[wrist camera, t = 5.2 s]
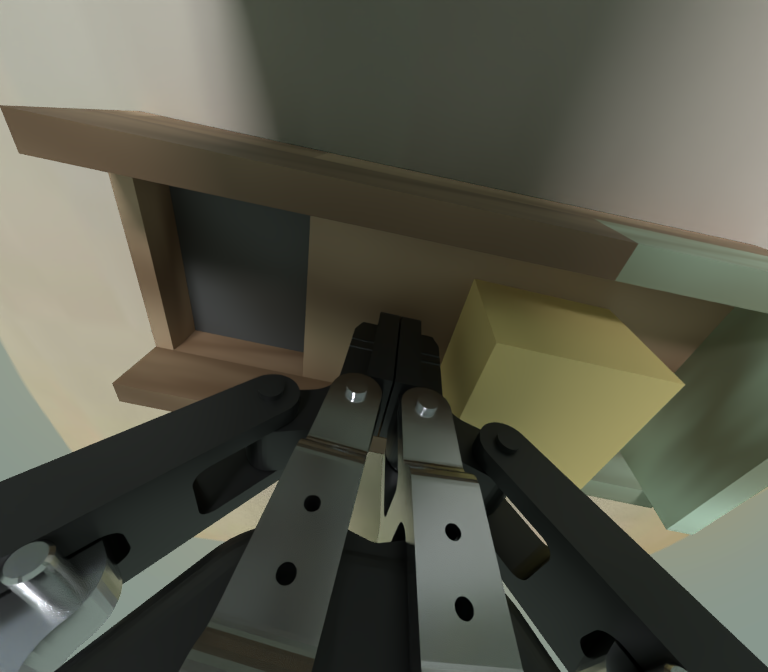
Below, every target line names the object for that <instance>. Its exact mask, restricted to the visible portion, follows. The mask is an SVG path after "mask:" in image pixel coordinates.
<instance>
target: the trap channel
mask: <svg viewBox="0 0 768 672" xmlns="http://www.w3.org/2000/svg"><path fill="white" fill-rule="evenodd" d="M0 108H1V110H2V112H3V115H4V117H5V120H6V122H7V125H8V127H9V130H10V132H11V135H12V137H13V140H14V142H15V144H16V147H17V149H18V152H19V153H20V154H25V155H29V156H34V157H39V158H43V159H48V160H53V161H57V162H62V163H67V164H71V165H76V166H81V167H86V168H90V169H95V170H100V171H104V172H108V174H109V177H110V181H111V184H112V188H113V192H114V195H115V199H116V203H117V206H118V210H119V213H120V217H121V221H122V224H123V228H124V232H125V235H126V239H127V242H128V246H129V250H130V253H131V257H132V261H133V264H134V268H135V271H136V275H137V279H138V282H139V286H140V290H141V293H142V297H143V300H144V304H145V308H146V311H147V315H148V319H149V322H150V326H151V329H152V333H153V337H154V340H155V344H156V347H155V348H154V349H153V350H152V351H150V352H149V353H148V354H147V355H146V356H144V357H143V358H142V359H141V360H140V361H138V362H137V363H136V364H135V365H134V366H132V367H131V368H130V369H129V370H128V371H126V372H125V373H124V374H123V375H122V376H121V377H119V378H118V379H117V380H116V381H115V382H113V383H112V384H113V386H114V389H115V391H116V394H117V396H118V398H119V401H122V402H127V403H132V404H137V405H142V406H146V407H151V408H156V409H161V410H166V411H171V412H173V411H175V410H178V409H180V408H182V407H185V406H187V405H190V404H192V403H195V402H197V401H200V400H202V399H204V398H207V397H209V396H212V395H214V394H217V393H219V392H222V391H224V390H227V389H229V388H231V387H234V386H236V385H239V384H241V383H244V382H246V381H249V380H251V379H254V378H256V377H259V376H262V375H267V374H279V375H284V376H287V377H289V378H291V379H292V380H294V381H295V382H296V383H297V385H298V386H299V389H300V390H310V389H320V388H324V387H327V386H329V385H331V384H332V383H333V381H334V380H335V379H336V378H337V377H339V376H340V373H341V370H342V367H343V364H344V361H345V358H346V355H347V352H348V349H349V346H350V342H351V339H352V336H353V333H354V330H355V328H356V327H357V326H359V325H360V324H361V323H362V322H367V323H371V324H376V325H378V321H379V317H380V312H385V313H389V314H394V315H398V316H400V318H401V316H403V317H407V318H412V319H416V320H421V335H426V336H430V337H433V339H434V340H435V342H436V343H437V345H438V346H439V356H440V357H439V358H440V366H441V363H442V361H443V358H444V355H445V353H446V350H447V348H448V345H449V343H450V340H451V337H452V335H453V332H454V330H455V327H456V325H457V322H458V319H459V317H460V314H461V312H462V309H463V307H464V304H465V301H466V299H467V296H468V294H469V291H470V289H471V286H472V283H473V281H474V279H478V280H482V281H487V282H491V283H495V284H500V285H504V286H509V287H513V288H517V289H522V290H526V291H530V292H535V293H539V294H543V295H548V296H552V297H557V298H561V299H565V300H570V301H574V302H578V303H583V304H587V305H591V306H596V307H600V308H605V309H609V310H610V311H611V312H612V313H613V314H614V315H615V316H616V317H617V318H618V319H619V320H620V321H621V322H622V323H623V324H624V325H625V326H627V327H628V328H629V329H630V330H631V331H632V332H633V333H634V334H635V335H636V336H637V337H638V338H639V339H640V340H641V341H642V342H643V343H644V344H645V345H646V346H647V347H648V348H649V349H650V350H651V351H652V352H653V353H654V354H655V355H656V356H657V357H658V358H659V359H660V360H661V361H662V362H663V363H664V364H665V365H666V366H667V367H668V368H669V369H670V370H671V371H672V372H673V373H674V374H675V375H676V376H677V377H678V378H679V379H680V380H681V381H682V382H683V383H684V384H685V386H684V387H683V388H682V389H681V390H680V391H679V392H678V393H677V394H676V395H675V396H674V397H673V398H672V399H671V400H670V401H669V402H668V403H667V404H666V405H665V406H664V407H663V408H662V409H661V410H660V411H659V412H658V413H657V414H656V415H655V416H654V417H653V418H652V419H651V420H650V421H649V422H648V423H647V424H646V425H645V426H644V427H643V428H642V429H641V430H640V431H639V432H638V433H637V434H636V435H635V436H634V437H633V438H632V439H631V440H630V441H629V442H628V443H627V444H626V445H625V446H624V447H623V448H622V449H621V450H620V451H619V452H618V453H617V454H616V455H615V456H614V457H613V458H612V459H611V460H610V461H609V462H608V463H607V464H606V465H605V466H604V467H603V468H602V469H601V470H600V471H599V472H598V473H597V474H596V475H595V476H594V477H593V478H592V479H591V480H590V481H589V482H588V483H587V484H586V485H585V486H584V487H583V488H582V489H581V491H582V492H583V493H584V494H586V495H589V496H594V497H599V498H604V499H609V500H614V501H619V502H624V503H629V504H633V505H638V506H643V507H648V508H652V507H653V508H654V510H655V511H656V513H657V514H658V516H659V518H660V519H661V521H662V523H663V524H664V526H665V528H666V529H667V530H671V531H676V532H681V533H686V534H691V535H693V534H695V533H697V532H698V531H700V530H701V529H703V528H704V527H706V526H707V525H709V524H711V523H712V522H714V521H715V520H717V519H718V518H720V517H721V516H723V515H724V514H726V513H728V512H729V511H731V510H732V509H734V508H735V507H737V506H738V505H740V504H741V503H743V502H745V501H746V500H748V499H749V498H751V497H752V496H754V495H755V494H757V493H759V492H760V491H762V490H763V489H765V488H766V487H768V250H766V249H763V248H761V247H758V246H755V245H751V244H746V243H742V242H737V241H732V240H728V239H723V238H719V237H714V236H709V235H705V234H700V233H696V232H691V231H687V230H682V229H677V228H673V227H668V226H664V225H659V224H654V223H650V222H645V221H641V220H636V219H631V218H627V217H622V216H618V215H613V214H608V213H604V212H599V211H595V210H590V209H586V208H581V207H576V206H572V205H567V204H563V203H558V202H553V201H549V200H544V199H540V198H535V197H530V196H526V195H521V194H517V193H512V192H507V191H503V190H498V189H494V188H489V187H485V186H480V185H475V184H471V183H466V182H462V181H457V180H452V179H448V178H443V177H439V176H434V175H429V174H425V173H420V172H416V171H411V170H407V169H402V168H397V167H393V166H388V165H384V164H379V163H374V162H370V161H365V160H361V159H356V158H351V157H347V156H342V155H338V154H333V153H328V152H324V151H319V150H315V149H310V148H306V147H301V146H296V145H292V144H287V143H283V142H278V141H273V140H269V139H264V138H260V137H255V136H250V135H246V134H241V133H237V132H232V131H227V130H223V129H218V128H214V127H209V126H205V125H200V124H195V123H191V122H186V121H182V120H177V119H172V118H168V117H163V116H159V115H154V114H149V113H145V112H140V111H120V110H97V109H73V108H50V107H26V106H3V105H0ZM380 426H381V425H380ZM379 434H380V428H379V432H378V435H377V436H374V435H373V439H372V442H371V446H370V450H369V451H370V452H375V453H380V454H384V452H385V449H386V442H387V438H384V437H379Z"/></svg>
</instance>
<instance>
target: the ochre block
mask: <svg viewBox="0 0 768 672" xmlns="http://www.w3.org/2000/svg"><path fill="white" fill-rule="evenodd" d="M440 368H441V381H442V393H443V397H444V398H445V399H446V400H447V401H448V403H449V405H450V407H451V411H452V413H453V414H454V415H455V416H456V417H458V418H459V419H461V420H462V421H464V422H466V423H468V424H470V425H472V426H475V427H477V428H479V429H481V428H482V427H483V426H484V425H485V424H487V423H491V422H498V423H503V424H506V425H509V426H511V427H513V428H514V429H516V430H517V431H519V432H520V433H521V434H522V435H523V436H524V437H525V438H527V439H528V440H529V441H530V442H531V443H532V444H533V445H534V446H535V447H536V448H537V449H538V450H539V451H540V452H541V453H542V454H543V455H544V456H546V457H547V458H548V459H549V460H550V461H551V462H552V463H553V464H554V465H555V466H556V467H557V468H558V469H559V470H560V471H561V472H562V473H563V474H564V475H566V476H567V477H568V478H569V479H570V480H571V481H572V482H573V483H574V484H575V485H576V486H577V487H578V488H579V489H580V490H581V489H582V488H583V487H584V486H585V485H586V484H587V483H588V482H589V481H590V480H591V479H592V478H593V477H594V476H595V475H596V474H597V473H598V472H599V471H600V470H601V469H602V468H603V467H604V466H605V465H606V464H607V463H608V462H609V461H610V460H611V459H612V458H613V457H614V456H615V455H616V454H617V453H618V452H619V451H620V450H621V449H622V448H623V447H624V446H625V445H626V444H627V443H628V442H629V441H630V440H631V439H632V438H633V437H634V436H635V435H636V434H637V433H638V432H639V431H640V430H641V429H642V428H643V427H644V426H645V425H646V424H647V423H648V422H649V421H650V420H651V419H652V418H653V417H654V416H655V415H656V414H657V413H658V412H659V411H660V410H661V409H662V408H663V407H664V406H665V405H666V404H667V403H668V402H669V401H670V400H671V399H672V398H673V397H674V396H675V395H676V394H677V393H678V392H679V391H680V390H681V389H682V388H683V387H684V386H685V384H684V383H683V382H682V381H681V380H680V379H679V378H678V377H677V376H676V375H675V374H674V373H673V372H672V371H671V370H670V369H669V368H668V367H667V366H666V365H665V364H664V363H663V362H662V361H661V360H660V359H659V358H658V357H657V356H656V355H655V354H654V353H653V352H652V351H651V350H650V349H649V348H648V347H647V346H646V345H645V344H644V343H643V342H642V341H641V340H640V339H639V338H638V337H637V336H636V335H635V334H634V333H633V332H632V331H631V330H630V329H629V328H628V327H627V326H625V325H624V324H623V323H622V322H621V321H620V320H619V319H618V318H617V317H616V316H615V315H614V314H613V313H612V312H611V311H610V310H609V309H605V308H600V307H596V306H591V305H587V304H583V303H578V302H574V301H570V300H565V299H561V298H557V297H552V296H548V295H543V294H539V293H535V292H530V291H526V290H522V289H517V288H513V287H509V286H504V285H500V284H495V283H491V282H487V281H482V280H478V279H474V281H473V283H472V286H471V289H470V291H469V294H468V296H467V299H466V301H465V304H464V307H463V309H462V312H461V314H460V317H459V319H458V322H457V325H456V327H455V330H454V332H453V335H452V337H451V340H450V343H449V345H448V348H447V350H446V353H445V355H444V358H443V361H442V363H441V366H440Z"/></svg>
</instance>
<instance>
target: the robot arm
mask: <svg viewBox="0 0 768 672" xmlns="http://www.w3.org/2000/svg"><path fill="white" fill-rule="evenodd" d="M439 357H440V356H439V346H438V345H437V343H436V342H435V340H434V339H433V337H430V336H426V335H421V320H416V319H412V318H407V317H403V316H401V318H400V316H398V315H394V314H389V313H385V312H380V317H379V321H378V325H376V324H371V323H367V322H362V323H361V324H360V325H359V326H357V327H356V328H355V330H354V333H353V336H352V339H351V342H350V346H349V349H348V352H347V355H346V358H345V361H344V364H343V367H342V370H341V373H340V376H339V377H337V378H336V379H335V380H334V381H333V383H332V384H331V385H329V386H327V387H324V388H320V389H310V390H300V389H299V386H298V385H297V383H296V382H295V381H294V380H292V379H291V378H289V377H287V376H284V375H279V374H267V375H262V376H259V377H256V378H254V379H251V380H249V381H246V382H244V383H241V384H239V385H236V386H234V387H231V388H229V389H227V390H224V391H222V392H219V393H217V394H214V395H212V396H209V397H207V398H204V399H202V400H200V401H197V402H195V403H192V404H190V405H187V406H185V407H182V408H180V409H178V410H175V411H173V412H170V413H168V414H165V415H163V416H160V417H158V418H155V419H153V420H151V421H148V422H146V423H143V424H141V425H138V426H136V427H133V428H131V429H128V430H126V431H124V432H121V433H119V434H116V435H114V436H111V437H109V438H106V439H104V440H101V441H99V442H97V443H94V444H92V445H89V446H87V447H84V448H82V449H79V450H77V451H75V452H72V453H70V454H67V455H65V456H62V457H60V458H57V459H55V460H52V461H50V462H48V463H45V464H43V465H40V466H38V467H36V468H33V469H30V470H28V471H26V472H23V473H21V474H18V475H16V476H13V477H11V478H9V479H6V480H3V481H1V482H0V672H560V670H559V669H558V667H557V666H556V664H555V663H554V661H553V660H552V658H551V657H550V656H549V654H548V652H547V651H546V650H545V648H544V647H543V645H542V644H541V642H540V641H539V639H538V638H537V636H536V635H535V633H534V632H533V630H532V629H531V627H530V626H529V624H528V623H527V622H526V620H525V619H524V617H523V616H522V614H521V613H520V611H519V610H518V609H517V607H516V606H515V605H514V603H513V602H512V601H511V600H510V598H509V597H508V596H507V595H506V594H505V592H504V588H503V583H502V581H503V582H504V583H505V585H506V586H507V587H508V589H509V590H510V592H511V593H512V594H513V596H514V597H515V599H516V600H517V601H518V603H519V604H520V605H521V607H522V608H523V610H524V611H525V612H526V613H527V615H528V616H529V618H530V619H531V621H532V622H533V623H534V625H535V626H536V627H537V629H538V630H539V632H540V633H541V634H542V636H543V637H544V639H545V640H546V641H547V643H548V644H549V645H550V647H551V648H552V650H553V651H554V652H555V654H556V655H557V656H558V658H559V659H560V660H561V662H562V663H563V664H564V666H565V668H566V669H567V670H568V672H768V667H767V666H766V665H765V664H763V663H762V662H761V661H760V660H759V659H758V658H757V657H756V656H755V655H754V654H753V653H752V652H751V651H750V650H749V649H748V648H747V647H745V645H743V644H742V643H741V642H740V641H739V640H738V639H737V638H736V637H735V636H734V635H733V634H732V633H731V632H730V631H729V630H728V629H727V628H726V627H724V626H723V625H722V624H721V623H720V622H719V621H718V620H717V619H716V618H715V617H714V616H713V615H712V614H711V613H710V612H709V611H708V610H707V609H706V608H704V607H703V606H702V605H701V604H700V603H699V602H698V601H697V600H696V599H695V598H694V597H693V596H692V595H691V594H690V593H689V592H688V591H687V590H685V588H683V587H682V586H681V585H680V584H679V583H678V582H677V581H676V580H675V579H674V578H673V577H672V576H671V575H670V574H668V572H667V571H666V570H664V569H663V568H662V567H661V566H660V565H659V564H658V563H657V562H656V561H655V560H654V559H653V558H652V557H651V556H650V555H649V554H648V553H647V552H646V551H644V550H643V549H642V548H641V547H640V546H639V545H638V544H637V543H636V542H635V541H634V540H633V539H632V538H631V537H630V536H629V535H628V534H627V533H626V532H624V531H623V530H622V529H621V528H620V527H619V526H618V525H617V524H616V523H615V522H614V521H613V520H612V519H611V518H610V517H609V516H608V515H607V514H606V513H604V512H603V511H602V510H601V509H600V508H599V507H598V506H597V505H596V504H595V503H594V502H593V501H592V500H591V499H590V498H589V497H588V496H587V495H586V494H584V493H583V492H582V491H581V490H580V489H579V488H578V487H577V486H576V485H575V484H574V483H573V482H572V481H571V480H570V479H569V478H568V477H567V476H566V475H564V474H563V473H562V472H561V471H560V470H559V469H558V468H557V467H556V466H555V465H554V464H553V463H552V462H551V461H550V460H549V459H548V458H547V457H546V456H544V455H543V454H542V453H541V452H540V451H539V450H538V449H537V448H536V447H535V446H534V445H533V444H532V443H531V442H530V441H529V440H528V439H527V438H525V437H524V436H523V435H522V434H521V433H520V432H519V431H517V430H516V429H514V428H513V427H511V426H509V425H506V424H503V423H498V422H491V423H487V424H485V425H484V426H483V427H482V428H481V429H479V428H477V427H475V426H472V425H470V424H468V423H466V422H464V421H462V420H461V419H459V418H458V417H456V416H455V415H454V414H453V413H452V411H451V407H450V405H449V403H448V401H447V400H446V399H445V398H444V397H443V393H442V381H441V368H440V358H439ZM380 425H381V426H380ZM379 428H380V434H379V437H384V438H387V442H386V449H385V452H384V455H383V458H382V476H381V508H380V527H379V533H378V539H377V543H374V542H371V541H369V540H367V539H365V538H363V537H361V536H359V535H357V534H355V533H353V532H351V531H349V530H348V527H349V523H350V519H351V515H352V511H353V507H354V503H355V500H356V496H357V492H358V488H359V484H360V480H361V476H362V472H363V468H364V464H365V460H366V456H367V453H368V452H369V450H370V446H371V442H372V439H373V435H374V436H377V435H378V432H379ZM278 480H279V481H278ZM276 481H278V483H277V485H276V488H275V490H274V492H273V494H272V496H271V498H270V500H269V502H268V504H267V506H266V508H265V510H264V512H263V514H262V516H261V518H260V520H259V522H258V524H257V526H256V528H255V529H252V530H250V531H247V532H244V533H242V534H240V535H237V536H235V537H233V538H231V539H229V540H228V541H226V542H224V543H223V544H221V545H219V546H218V547H217V548H215V549H214V550H212V551H211V552H210V553H208V554H207V555H206V556H205V557H203V558H202V559H200V561H198V562H197V563H195V564H194V565H193V566H191V567H190V568H189V569H187V570H186V571H185V572H183V573H182V574H181V575H180V576H178V577H177V578H176V579H174V580H173V581H172V582H171V583H169V584H168V585H166V586H165V587H164V588H163V589H161V590H160V591H159V592H157V593H156V594H155V595H154V596H152V597H151V598H150V599H148V600H147V601H145V602H144V603H143V604H142V605H141V606H139V607H138V608H136V609H135V610H134V611H132V612H131V613H130V614H128V615H127V616H126V617H125V618H123V619H122V620H121V621H119V622H118V623H117V624H116V625H114V626H113V627H111V628H110V629H109V630H108V631H106V632H105V633H104V634H102V635H101V636H100V637H99V638H97V639H96V640H94V641H93V642H92V643H91V644H89V645H88V646H87V647H85V648H84V649H83V650H81V651H80V652H79V653H77V654H76V655H75V656H74V657H72V658H71V659H70V660H68V661H67V662H66V663H64V662H65V661H66V659H67V658H68V657H69V656H70V655H71V654H72V653H73V652H74V651H75V650H76V649H77V648H78V647H79V646H80V645H81V644H83V643H84V642H85V641H86V640H87V639H88V638H90V637H91V636H92V635H93V634H94V633H95V632H96V631H97V630H98V629H99V628H100V627H101V626H102V625H103V623H104V622H105V621H106V620H107V619H108V617H109V616H110V614H111V613H112V611H113V610H114V608H115V606H116V604H117V602H118V600H119V597H120V594H121V589H122V584H123V583H125V582H127V581H128V580H130V579H131V578H133V577H134V576H135V575H137V574H139V573H140V572H141V571H143V570H144V569H146V568H147V567H149V566H150V565H152V564H154V563H155V562H157V561H158V560H159V559H161V558H162V557H164V556H166V555H167V554H168V553H170V552H172V551H173V550H174V549H176V548H177V547H179V546H180V545H182V544H183V543H185V542H186V541H188V540H189V539H191V538H192V537H194V536H195V535H197V534H198V533H200V532H201V531H203V530H204V529H206V528H207V527H209V526H210V525H212V524H213V523H215V522H216V521H218V520H219V519H221V518H222V517H224V516H225V515H227V514H228V513H230V512H231V511H233V510H234V509H236V508H237V507H239V506H240V505H242V504H243V503H245V502H246V501H248V500H249V499H251V498H252V497H254V496H255V495H257V494H258V493H260V492H261V491H263V490H264V489H266V488H267V487H269V486H270V485H272V484H273V483H275V482H276ZM506 496H507V497H508V498H509V500H510V501H511V502H512V503H513V504H514V505H515V506H516V508H517V509H518V510H519V511H520V512H521V513H522V514H523V516H524V517H525V518H526V519H527V520H528V521H529V522H530V524H531V525H532V526H533V527H534V528H535V529H536V530H537V532H538V533H539V534H540V535H541V536H542V537H543V539H544V540H545V542H546V543H547V545H548V546H546V545H545V544H544V543H543V542H542V541H541V540H540V539H539V538H538V537H537V535H536V534H535V533H534V532H533V531H532V530H531V528H530V527H529V526H528V525H527V524H526V523H525V521H524V520H523V519H522V518H521V517H520V516H519V515H518V513H517V512H516V511H515V510H514V509H513V508H512V506H511V505H510V504H509V503H508V502H507V501H506V499H505V498H506ZM63 663H64V664H63ZM62 664H63V665H62ZM61 665H62V666H61Z"/></svg>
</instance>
